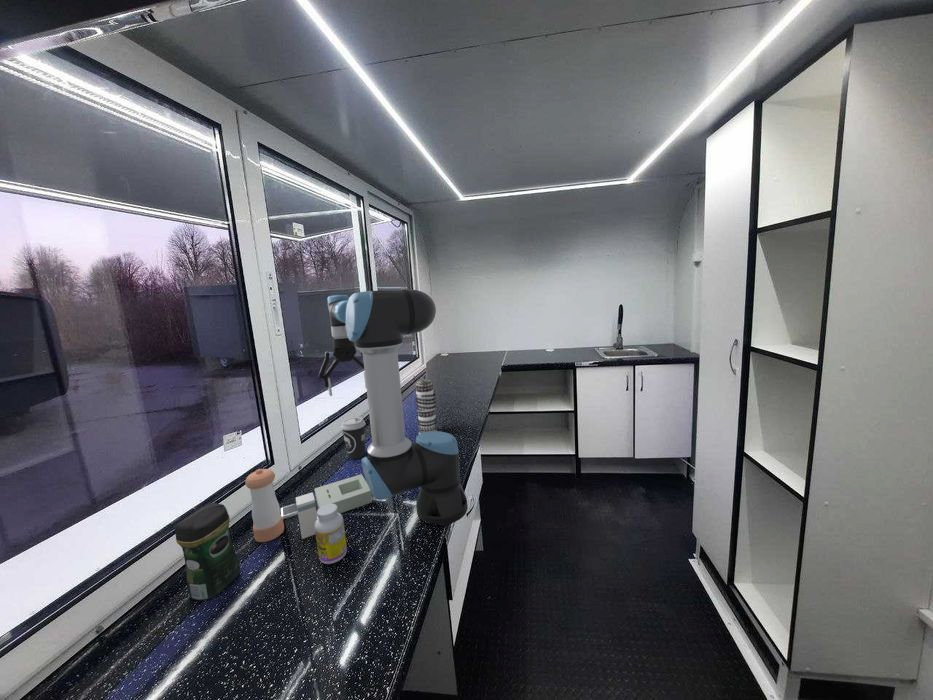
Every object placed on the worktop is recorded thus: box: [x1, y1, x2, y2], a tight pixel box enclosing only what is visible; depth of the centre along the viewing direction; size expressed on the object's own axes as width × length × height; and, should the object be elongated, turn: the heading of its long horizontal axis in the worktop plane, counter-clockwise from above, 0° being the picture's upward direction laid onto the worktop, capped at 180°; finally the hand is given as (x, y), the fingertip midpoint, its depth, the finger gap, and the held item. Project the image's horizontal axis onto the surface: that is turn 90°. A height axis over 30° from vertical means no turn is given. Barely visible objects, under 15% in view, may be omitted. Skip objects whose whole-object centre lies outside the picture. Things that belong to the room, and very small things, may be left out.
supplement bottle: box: [315, 504, 348, 565], centre depth 87 cm, size 7×7×13 cm
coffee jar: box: [174, 502, 241, 601], centre depth 79 cm, size 10×8×19 cm
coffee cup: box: [340, 416, 366, 460], centre depth 141 cm, size 10×10×15 cm
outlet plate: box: [314, 473, 373, 514], centre depth 111 cm, size 15×12×4 cm
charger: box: [295, 491, 318, 540], centre depth 97 cm, size 4×4×10 cm
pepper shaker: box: [245, 468, 285, 543], centre depth 96 cm, size 7×7×19 cm
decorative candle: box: [414, 378, 438, 435], centre depth 159 cm, size 9×9×25 cm
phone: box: [280, 503, 298, 520], centre depth 108 cm, size 5×9×1 cm, turn 120°
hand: (349, 391), depth 135 cm, fingers open, 13 cm apart
